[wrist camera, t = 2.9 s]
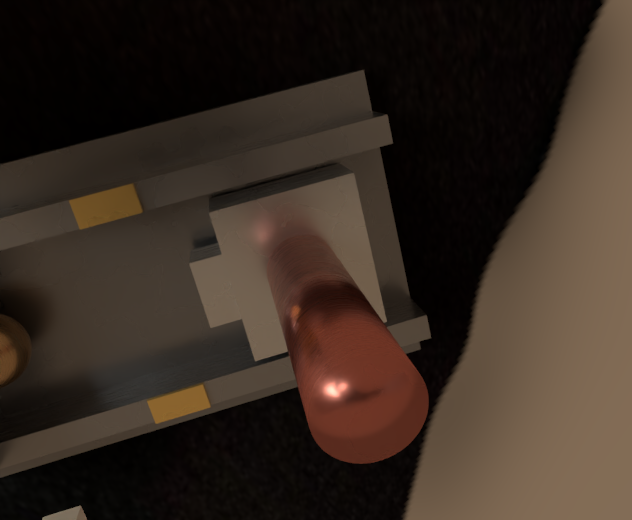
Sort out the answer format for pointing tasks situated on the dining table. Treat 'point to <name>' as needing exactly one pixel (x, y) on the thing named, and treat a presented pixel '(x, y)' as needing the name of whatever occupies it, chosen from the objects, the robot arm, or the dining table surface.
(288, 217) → the ram
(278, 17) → the dining table surface
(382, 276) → the press base
